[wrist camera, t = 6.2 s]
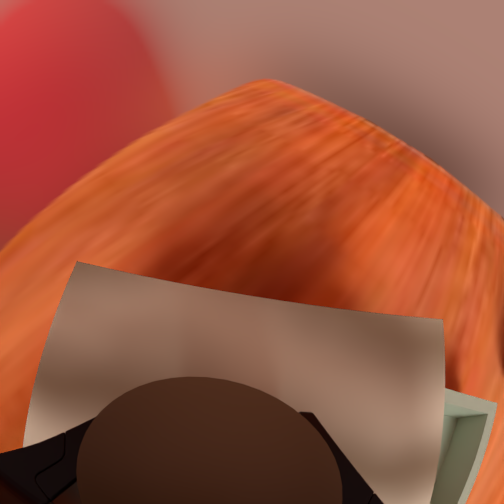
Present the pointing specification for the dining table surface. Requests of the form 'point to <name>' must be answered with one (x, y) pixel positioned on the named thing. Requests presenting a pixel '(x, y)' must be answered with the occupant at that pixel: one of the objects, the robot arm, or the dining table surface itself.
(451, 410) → the grey rectangular tray
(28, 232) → the dining table surface
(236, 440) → the lid
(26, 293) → the dining table surface
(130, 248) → the dining table surface
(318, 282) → the dining table surface
